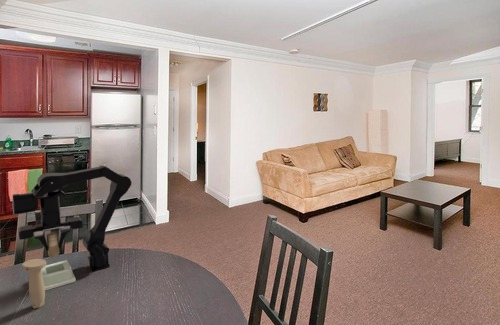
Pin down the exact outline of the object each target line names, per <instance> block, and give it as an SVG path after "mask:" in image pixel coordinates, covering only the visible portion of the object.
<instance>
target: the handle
mask: <svg viewBox="0 0 500 325" xmlns="http://www.w3.org/2000/svg"><path fill="white" fill-rule="evenodd" d="M46 265H47V261H46V260H45V259H43V258H34V259H32V258H31V259H29V260H25V261H24V262H23V263H22V269H23V270H24V271H26V272H28V293H29V300H30V303H31V306H32V308H33V309H39V308H42V307H43V306H44V305H45V298H46V294H45V293H46V290H45V288H44V282H43V277H42V268H44V267H45V266H46Z"/></svg>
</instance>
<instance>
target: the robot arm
mask: <svg viewBox="0 0 500 325" xmlns="http://www.w3.org/2000/svg"><path fill="white" fill-rule="evenodd" d="M99 178H105V179H107V180H108V181H110V185H109V194H108V196H107V198H106V200H105V203H104V204H103V206H102V209H101V210H100V213H99V214H98V216H97V219H96V221H95V224H94V225H93V227H91V229H88V228H86V229H85V232H84V235H82V237H81V239H82V241H81V242H82V245H83V247H84V248H85V249H86V251H87V252H88V253H89V256H87V261H88V268H89V269H90V270H91V271H92V272H96V271H100V270H102V269H106V268H109V267H111V266H110V263H109V251H110V248H109V246H107V244H106V243H105V239H106V230H107V228H108V227H109V226H108V225H109V223H111V222H110V221H111V219H112V218H113V214H114V213H115V210H117V207H118V205H119V203H120V201H121V198H122V197H123V196H125V194H126V193H127V192H128V191H129V189H130V188H131V187H132V183H133V182H132V180H131V178H130V177H128V176H127V175H124V174H121V173H117V172H115V171H114V170H112V169H111V168H110V167H108V166H106V165H99V166H96V167H90V168H87V169H86V168H85V169H80V170H75V171H69V172H46V173H42V174H40V175H39V177H38V178H37V180H36V182H37V183H36V185H35V186H33V188H32V189H31V191H30V192H25V193H14V194H13V193H12V202H11V206H12V212H13V216H16V215H23V214H28V213H34V212H35V211H37V209H38V208H39V209H40V211H39V212H38V211H37V212H35V213H34V219H35V222H40V225H41V226H36V227H33V224H30V225H29V224H28V225H24V226H20V227H18V229H17V230H18V239H19V241H20V240H27V239H31V238H32V237H34V238H33V239H34V240H37V239H38V240H39V241H40V243H41V244H42V245H43V247H44V249H45V251H46V252H48V245H47V238H46V236H45V232H48V231H53V230H57V229H58V240H59V250H60V249H61V248H62V245H63V244H64V240H65V238H66V236H67V234H68V233H70V232H71V229H72V230H78V229H82V228H83V226H84V224H83V221H82V220H83V219H81V218H80V217H79V216H76V217H71V218H70V217H69V218H68V219H67V221H65V222H62V219H61V218H62V217H61V208H60V207H61V205H60V197H63V196H66V193H65V192H64V191H62V190H61V189H63V188H65V187H67V186H69V185H71V184H75V183H81V182H85V181H91V180H94V179H99ZM70 228H71V229H70Z"/></svg>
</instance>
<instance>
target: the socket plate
mask: <svg viewBox="0 0 500 325" xmlns="http://www.w3.org/2000/svg"><path fill="white" fill-rule="evenodd" d="M72 269H73V268H72V267H71V265H70V264H69V261H68V260H67V259H65V260H63V261H62V260H61V261H58V262H55V263H51V264H46V266H45V267H44V268H42V277H43V282H44V288H45V291H47V290H51V289H52V290H53V289H54V288H58V287H62V286H65V285H68V284H72V283H75V282H76V281H77V280H76V277H75V274H74V272H73V270H72Z"/></svg>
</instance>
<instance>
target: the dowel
mask: <svg viewBox="0 0 500 325" xmlns="http://www.w3.org/2000/svg"><path fill="white" fill-rule="evenodd" d="M46 242H47V246H48V251H47V253H48V254H47V256H48V257H50V258H53V257H56V256H57V257H58V256H59V255H60V249H59V232H55V231H54V232H48V233H47V234H46Z"/></svg>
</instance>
